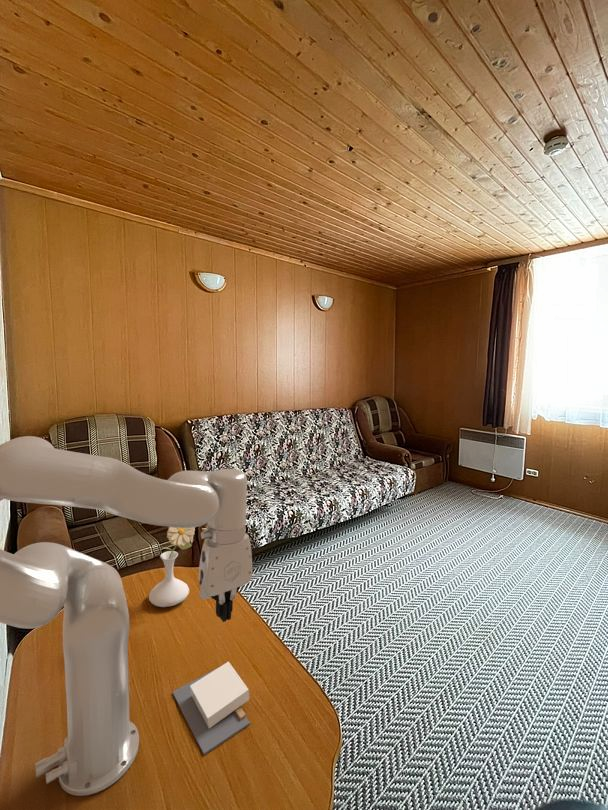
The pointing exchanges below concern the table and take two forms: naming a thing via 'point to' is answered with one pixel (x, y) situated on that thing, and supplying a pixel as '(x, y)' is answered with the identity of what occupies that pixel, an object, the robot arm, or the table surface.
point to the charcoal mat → (198, 726)
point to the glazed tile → (219, 694)
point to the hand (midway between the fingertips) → (223, 616)
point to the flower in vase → (170, 587)
